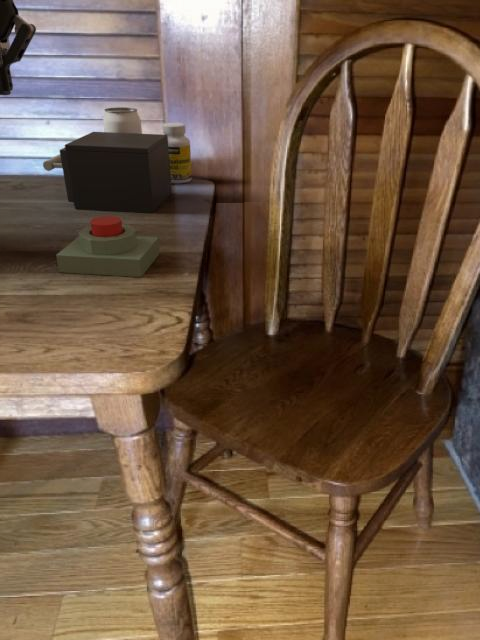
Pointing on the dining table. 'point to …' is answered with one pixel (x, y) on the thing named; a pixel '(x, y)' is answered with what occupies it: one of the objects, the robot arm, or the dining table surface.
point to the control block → (109, 254)
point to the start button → (106, 226)
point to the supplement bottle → (178, 152)
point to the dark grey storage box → (119, 171)
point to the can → (122, 120)
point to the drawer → (61, 162)
